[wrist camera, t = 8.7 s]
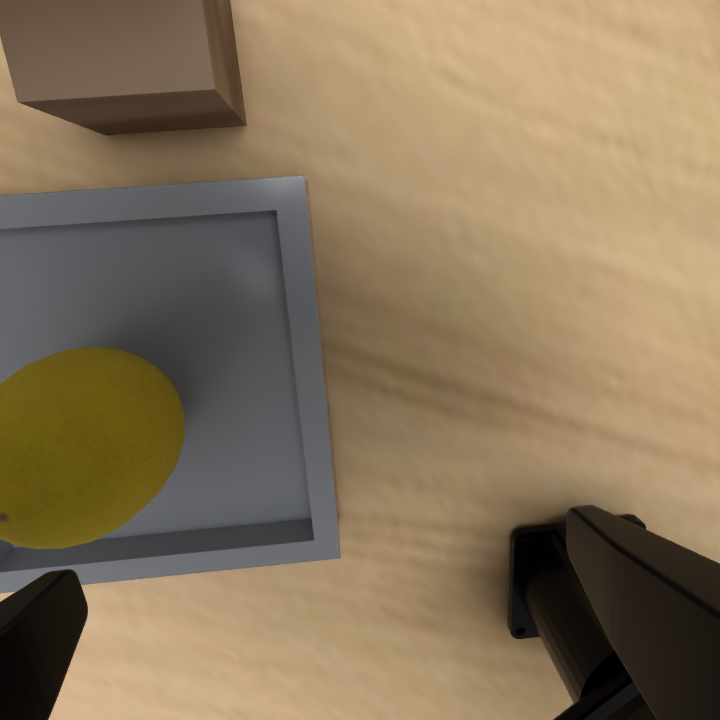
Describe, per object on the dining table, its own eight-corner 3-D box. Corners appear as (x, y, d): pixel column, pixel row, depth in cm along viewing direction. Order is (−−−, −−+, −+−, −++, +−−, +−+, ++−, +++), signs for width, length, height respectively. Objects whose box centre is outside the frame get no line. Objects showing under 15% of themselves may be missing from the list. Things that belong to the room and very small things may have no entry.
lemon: (32, 377, 18) (-188, 496, 10) (143, 295, 17) (-4, 356, 10) (132, 478, 19) (6, 648, 12) (237, 406, 19) (176, 535, 11)
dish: (338, 521, 22) (340, 558, 19) (11, 553, 21) (-29, 596, 19) (306, 181, 17) (304, 175, 15) (-110, 208, 17) (-182, 207, 14)
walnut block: (246, 125, 17) (215, 89, 12) (106, 135, 17) (17, 102, 12) (224, -41, 15) (178, -158, 11) (70, -33, 15) (-48, -148, 10)
